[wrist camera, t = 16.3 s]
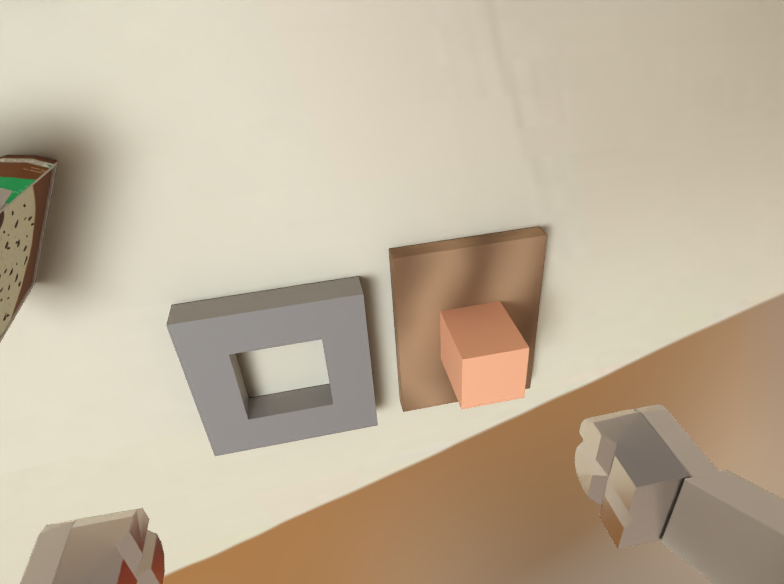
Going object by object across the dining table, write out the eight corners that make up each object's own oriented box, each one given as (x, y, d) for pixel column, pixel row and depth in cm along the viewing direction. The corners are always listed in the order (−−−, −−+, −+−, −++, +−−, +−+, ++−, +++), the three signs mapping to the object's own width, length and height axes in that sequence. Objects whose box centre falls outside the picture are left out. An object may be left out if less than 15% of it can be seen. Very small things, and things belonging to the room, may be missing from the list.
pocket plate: (358, 276, 42) (363, 293, 40) (373, 404, 50) (377, 425, 48) (171, 305, 40) (166, 325, 38) (217, 433, 48) (214, 456, 46)
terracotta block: (500, 301, 44) (529, 347, 39) (497, 348, 47) (524, 397, 42) (440, 311, 44) (462, 359, 39) (440, 358, 46) (461, 409, 41)
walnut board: (539, 226, 43) (547, 235, 41) (523, 377, 52) (529, 387, 50) (388, 248, 41) (392, 258, 40) (399, 400, 50) (403, 411, 49)
